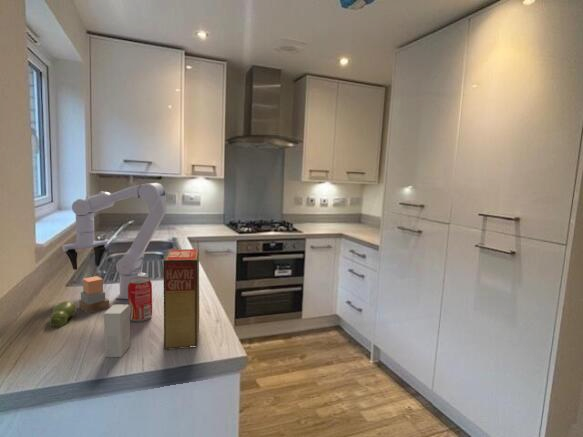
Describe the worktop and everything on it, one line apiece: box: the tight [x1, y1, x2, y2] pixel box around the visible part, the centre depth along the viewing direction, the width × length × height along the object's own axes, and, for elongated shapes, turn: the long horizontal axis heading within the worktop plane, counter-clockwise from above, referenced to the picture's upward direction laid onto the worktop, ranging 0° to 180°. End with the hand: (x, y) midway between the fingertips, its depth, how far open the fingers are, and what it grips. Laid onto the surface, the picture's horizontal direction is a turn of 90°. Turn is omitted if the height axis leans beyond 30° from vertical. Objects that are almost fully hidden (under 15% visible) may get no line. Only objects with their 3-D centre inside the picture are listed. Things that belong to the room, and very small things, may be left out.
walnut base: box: [78, 297, 110, 314], centre depth 118 cm, size 7×7×3 cm
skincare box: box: [103, 304, 131, 358], centre depth 90 cm, size 6×4×12 cm
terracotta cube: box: [82, 275, 104, 295], centre depth 117 cm, size 4×4×4 cm
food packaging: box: [162, 248, 200, 350], centre depth 99 cm, size 13×9×25 cm
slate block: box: [80, 290, 106, 305], centre depth 117 cm, size 6×6×3 cm
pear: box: [49, 300, 77, 327], centre depth 107 cm, size 6×5×10 cm
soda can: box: [127, 276, 153, 323], centre depth 111 cm, size 7×7×13 cm
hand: (86, 267), depth 128 cm, fingers open, 7 cm apart
